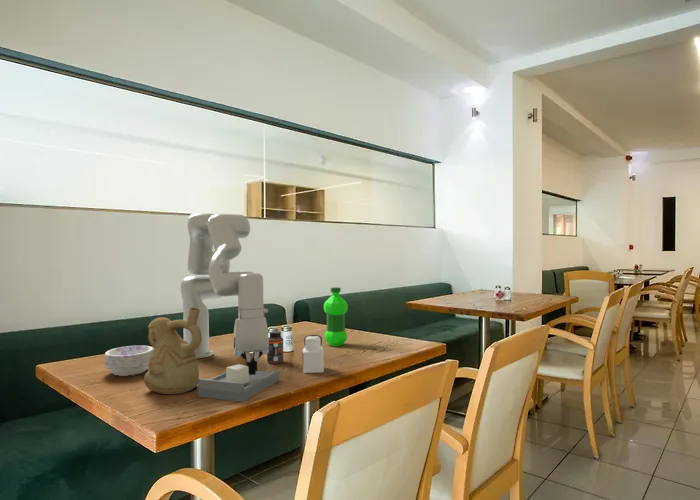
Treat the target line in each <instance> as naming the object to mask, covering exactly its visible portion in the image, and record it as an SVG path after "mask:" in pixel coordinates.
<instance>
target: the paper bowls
mask: <svg viewBox="0 0 700 500" xmlns="http://www.w3.org/2000/svg"><path fill="white" fill-rule="evenodd" d="M154 349H155V348H154V347H153V346H150V345H127V346H121V347H115V348H111V349H109V350H107V351H106V352H105V353H104V369H106V370H110V371H111V372H112V374H113V375H115V376H116V375H119V376H118V377H129V376H128V375H132V376H136V375H135V374H137V375H141V374H143V373H144V372H146V370H147V369H148V368H149V366H148V365H149V358H150V355H151V353H152V352H153V350H154Z"/></svg>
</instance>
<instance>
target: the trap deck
mask: <svg viewBox="0 0 700 500" xmlns="http://www.w3.org/2000/svg"><path fill="white" fill-rule="evenodd" d="M197 380H198V384H197V397H198V398H199V397H200V398H206V399H216V400H217V399H218V400H225V401H235V402H241V403H243V402H246V401H247V400H248V399H251V398H252V397H254V396H255V395H257V394H259V393H261V392H262V391H264V390H265V389H268V388H269V387H270V386H272V385H274V384H276V383H277V382H280V369H276V370H275V371H265V370H257V371H256V374H255V375H249V382H246V383H237V382H227V381H226V371H225V372H222V373H221V374H217V376H213V377H211V378H209V379H207V378H206V379H205V378H199V379H197Z"/></svg>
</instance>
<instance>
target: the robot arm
mask: <svg viewBox="0 0 700 500" xmlns="http://www.w3.org/2000/svg"><path fill="white" fill-rule="evenodd" d="M187 232H188V235H189V247H188V256H187V270H188V272H189V273H190V274H191V275H190V276H186V277H185V278H183V279H182V280H181V282H180V292H181V293H180V294H181V299H182V307H183V314H182V315H183V319H182V320H188V316H189V309H190V308H198V309H199V310H200V312H199V315H198V319H197V326H198V327H199V329H200V331H201V337H202V338H201V343H200V345H199V347H198V348H197V349H196V350H195V353H196V358H197V360H198V359H204V358H208V357H212V355H213V354H214V351H213V350H211V349H210V347H209V346H210V326H209V324H210V322H209V319H210V318H209V316H210V313H209V309H208V306H207V305H206V304H205V303H204V301H205V300H213V299H221V298H222V297H233V296H234V297H235V296H236V297H237V302H238V303H237V304H238V305H237V306H238V307H237V308H238V309H237V311H238V312H237V313H238V316H237V317H238V318H235V321H234V325H233V326H234V328H233V339H232V344H233V345H232V348H233V354H232V355H233V356H234V357H237V358H242V359H243V360H244V361H245V366H248V367H249V375H255V374H256V371H258V361H259V359H260V357H262V356H263V355H265V354H266V355H267V353H268V352H269V349H268V346H269V330H268V322H267V318H266V317H265V314H268V313H269V309H268V308H265V307H264V277H263V275H262V274H261V273H255V272H253V271H230V267H231V266H230V265H231V264H230V262H231V261H232V260H233V259H235V258H237V257H238V256H239V255H240V253H241V251H242V245H241V242H240V239H246V238H247V237H248V236H249V234H250V232H251V225H250V221H249V219H248V218H247V216H245V215H243V214H235V213H234V214H232V213H231V214H229V213H209V212H207V213H205V212H198V213H197V212H196V213H192V214H190V216H189V217H188V220H187ZM213 248H214V250H213ZM203 300H204V301H203ZM183 340H185V341H186V342H187V343H190V342H191V341H192V333H191V332H190V331H189V330H188V329H185V328H183ZM250 353H252V358H251V354H250Z"/></svg>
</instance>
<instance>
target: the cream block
mask: <svg viewBox="0 0 700 500" xmlns="http://www.w3.org/2000/svg"><path fill="white" fill-rule="evenodd" d="M225 369H226V370H225V372H226V381H227V382H237V383H246V382H249V367H248V366H246V365H243V364H239V363H238V364H234V365H231V366H227V367H226V368H225Z"/></svg>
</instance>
